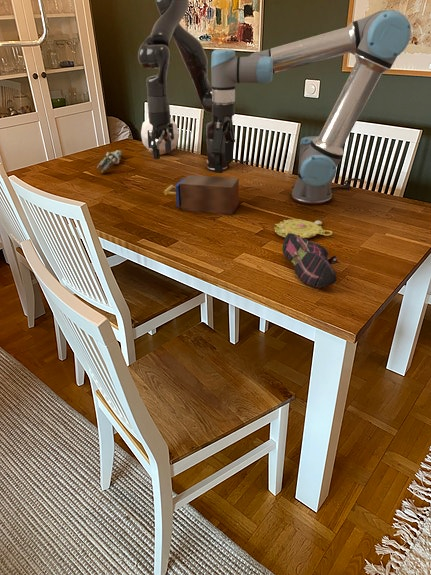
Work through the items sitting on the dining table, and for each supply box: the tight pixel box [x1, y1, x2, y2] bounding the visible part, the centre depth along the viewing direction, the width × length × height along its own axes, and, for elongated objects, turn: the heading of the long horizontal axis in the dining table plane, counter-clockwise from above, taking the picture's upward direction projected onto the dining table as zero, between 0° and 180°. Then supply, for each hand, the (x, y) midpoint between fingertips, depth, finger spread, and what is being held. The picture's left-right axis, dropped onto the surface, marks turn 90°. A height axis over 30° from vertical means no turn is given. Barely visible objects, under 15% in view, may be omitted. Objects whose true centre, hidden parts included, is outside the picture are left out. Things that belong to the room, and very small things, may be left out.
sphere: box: [140, 116, 180, 156], centre depth 225 cm, size 19×20×20 cm
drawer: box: [163, 177, 186, 208], centre depth 165 cm, size 23×9×8 cm, turn 74°
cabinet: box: [180, 174, 240, 216], centre depth 164 cm, size 19×10×10 cm, turn 74°
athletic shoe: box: [282, 233, 341, 288], centre depth 122 cm, size 11×22×12 cm
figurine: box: [96, 150, 123, 174], centre depth 213 cm, size 7×8×30 cm
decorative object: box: [273, 218, 333, 239], centre depth 145 cm, size 21×2×20 cm
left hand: (162, 155), depth 163 cm, fingers open, 8 cm apart
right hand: (224, 166), depth 157 cm, fingers open, 13 cm apart
